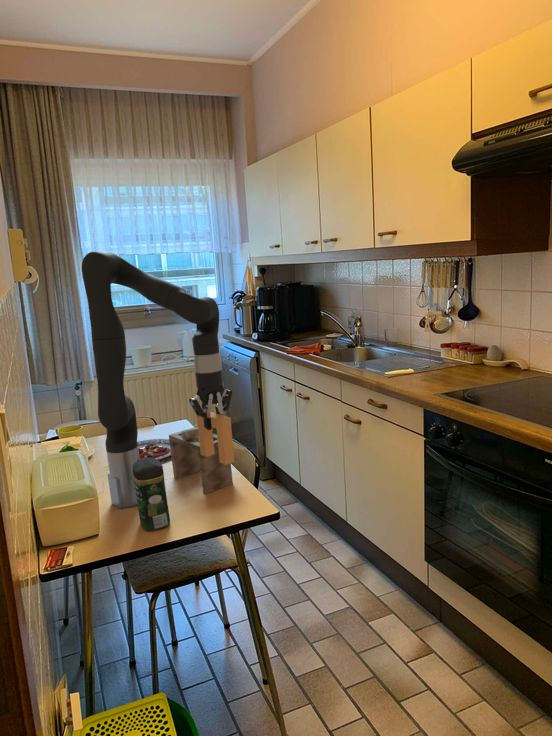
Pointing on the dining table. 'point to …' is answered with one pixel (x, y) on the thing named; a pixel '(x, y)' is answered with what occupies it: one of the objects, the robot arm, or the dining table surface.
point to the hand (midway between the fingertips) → (214, 427)
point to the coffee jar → (151, 493)
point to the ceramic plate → (154, 448)
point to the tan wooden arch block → (223, 437)
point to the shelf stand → (198, 460)
